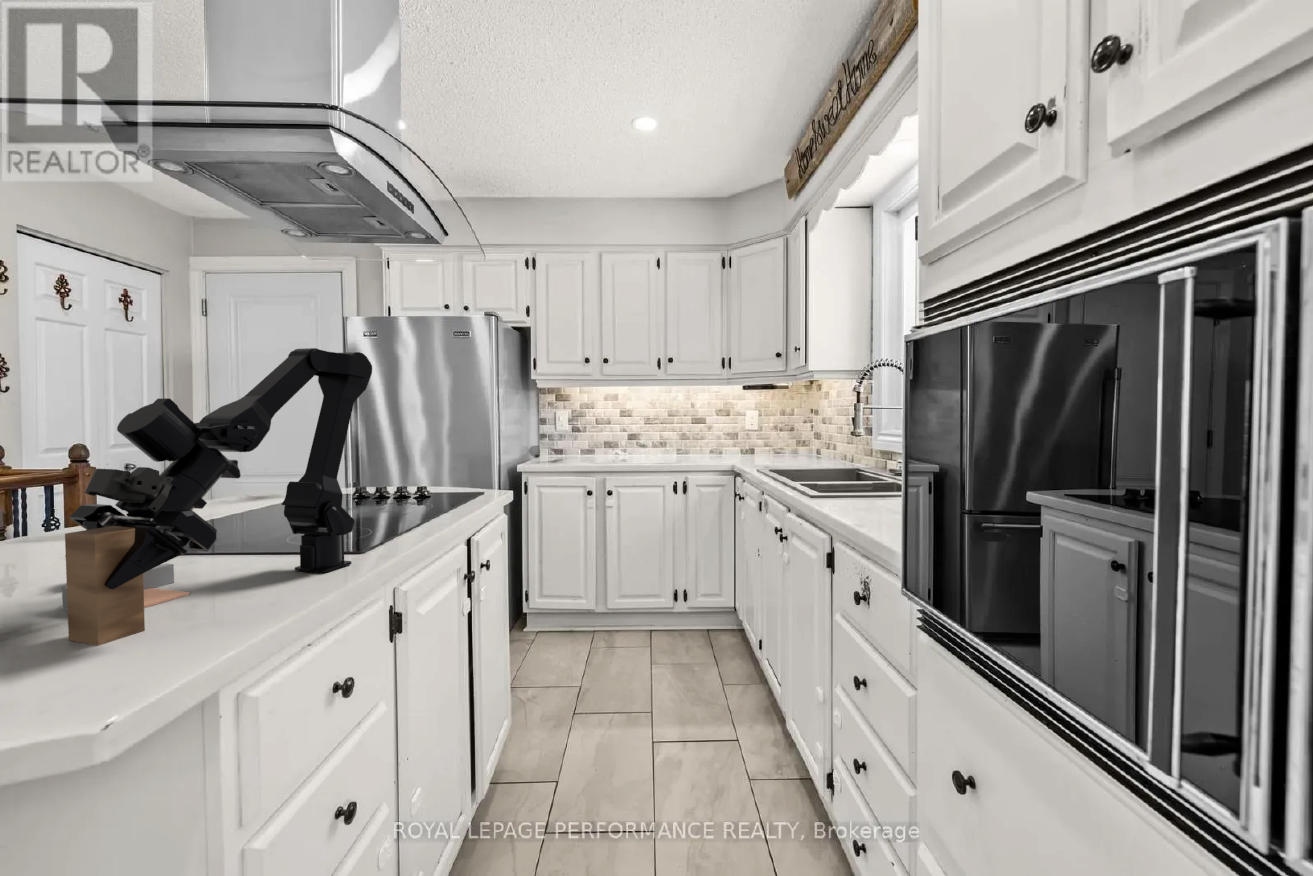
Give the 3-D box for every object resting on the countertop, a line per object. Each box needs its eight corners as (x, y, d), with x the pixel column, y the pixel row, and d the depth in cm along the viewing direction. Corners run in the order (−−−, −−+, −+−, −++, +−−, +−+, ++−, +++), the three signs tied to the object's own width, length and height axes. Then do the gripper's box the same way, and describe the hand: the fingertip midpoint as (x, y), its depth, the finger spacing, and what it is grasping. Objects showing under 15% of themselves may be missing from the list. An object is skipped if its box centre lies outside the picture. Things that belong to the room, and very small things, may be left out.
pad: (150, 590, 91) (150, 588, 91) (189, 594, 89) (189, 592, 89) (89, 606, 84) (88, 604, 84) (130, 611, 82) (130, 609, 82)
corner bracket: (167, 581, 96) (166, 563, 96) (219, 587, 93) (218, 568, 93) (62, 608, 83) (61, 587, 83) (119, 616, 80) (118, 594, 80)
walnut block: (116, 626, 76) (113, 525, 75) (144, 630, 75) (141, 528, 74) (68, 640, 71) (64, 533, 71) (98, 645, 70) (94, 536, 69)
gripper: (85, 443, 78) (-27, 543, 68) (191, 446, 73) (88, 554, 63) (151, 494, 86) (61, 591, 76) (251, 500, 81) (169, 604, 71)
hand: (91, 585), depth 71 cm, fingers closed on walnut block, 5 cm apart
